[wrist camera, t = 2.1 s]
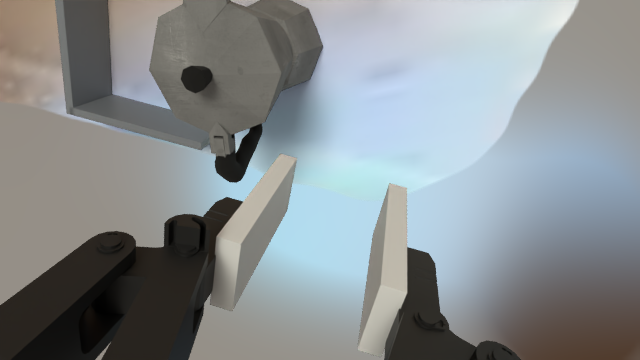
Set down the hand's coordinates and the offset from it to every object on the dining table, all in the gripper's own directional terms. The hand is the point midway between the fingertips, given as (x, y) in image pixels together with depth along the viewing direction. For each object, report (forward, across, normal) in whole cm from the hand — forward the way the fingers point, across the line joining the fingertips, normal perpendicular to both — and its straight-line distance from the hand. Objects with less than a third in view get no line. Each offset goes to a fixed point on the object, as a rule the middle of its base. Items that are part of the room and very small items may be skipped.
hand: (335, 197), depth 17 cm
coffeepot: (+25, -10, 0) cm, 27 cm away
